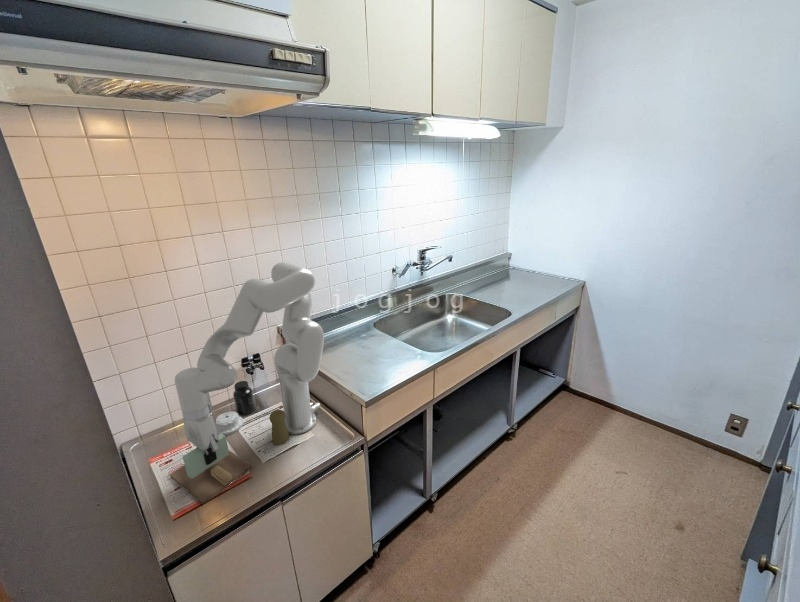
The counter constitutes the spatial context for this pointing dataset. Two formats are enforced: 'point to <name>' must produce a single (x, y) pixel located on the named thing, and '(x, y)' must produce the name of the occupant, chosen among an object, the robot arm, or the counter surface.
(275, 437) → the cork
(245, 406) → the supplement bottle
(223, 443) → the sage plate
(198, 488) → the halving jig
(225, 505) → the counter surface
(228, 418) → the mechanical component
